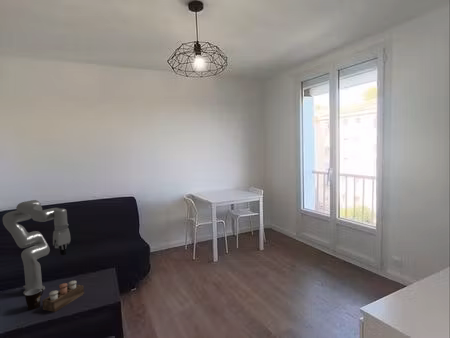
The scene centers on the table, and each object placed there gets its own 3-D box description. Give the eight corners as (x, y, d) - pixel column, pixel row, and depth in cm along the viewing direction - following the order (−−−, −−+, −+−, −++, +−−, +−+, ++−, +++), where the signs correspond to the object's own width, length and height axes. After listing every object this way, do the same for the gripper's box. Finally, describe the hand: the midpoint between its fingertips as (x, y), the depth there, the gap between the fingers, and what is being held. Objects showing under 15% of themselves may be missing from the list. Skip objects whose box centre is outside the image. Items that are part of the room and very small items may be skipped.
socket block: (43, 309, 173) (42, 300, 172) (72, 292, 193) (72, 283, 193) (55, 312, 169) (54, 302, 169) (84, 294, 190) (83, 285, 190)
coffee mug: (29, 312, 170) (28, 296, 169) (23, 308, 174) (21, 293, 174) (49, 303, 180) (48, 288, 179) (43, 300, 184) (42, 285, 184)
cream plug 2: (67, 294, 186) (66, 283, 186) (73, 291, 191) (72, 280, 190) (73, 295, 185) (72, 284, 184) (79, 292, 189) (78, 280, 189)
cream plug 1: (48, 306, 173) (47, 293, 173) (55, 302, 178) (54, 289, 177) (54, 307, 172) (53, 294, 171) (60, 303, 176) (59, 290, 176)
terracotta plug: (58, 298, 180) (57, 286, 179) (64, 294, 184) (63, 282, 184) (63, 299, 178) (62, 287, 178) (70, 295, 183) (69, 283, 182)
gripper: (66, 224, 193) (68, 250, 194) (46, 230, 179) (48, 258, 180) (75, 224, 190) (76, 251, 191) (55, 231, 176) (57, 259, 177)
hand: (63, 254), depth 186 cm, fingers closed
